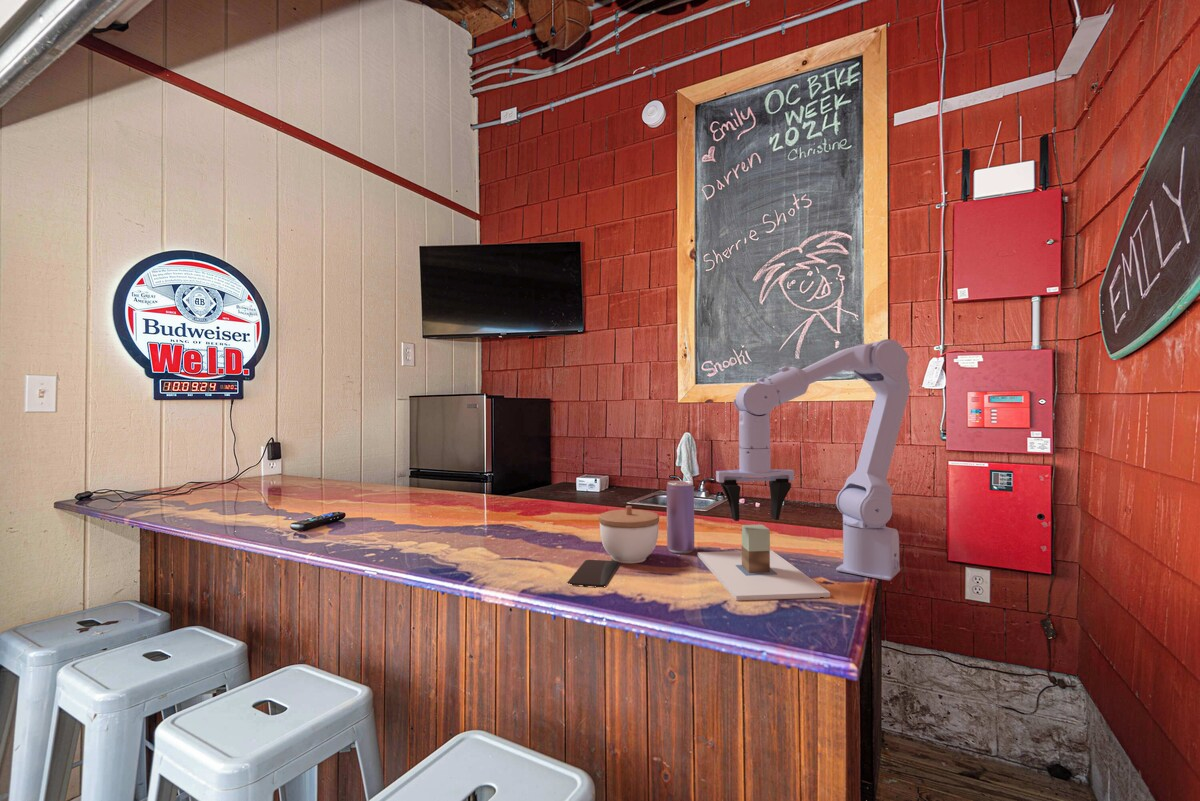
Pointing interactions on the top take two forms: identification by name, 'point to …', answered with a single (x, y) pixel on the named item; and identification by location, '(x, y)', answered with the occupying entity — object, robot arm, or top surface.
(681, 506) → the beverage can
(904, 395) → the robot arm
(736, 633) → the top surface
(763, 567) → the walnut block
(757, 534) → the sage block
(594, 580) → the smartphone
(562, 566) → the top surface
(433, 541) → the top surface
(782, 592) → the white flat panel
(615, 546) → the lidded bowl
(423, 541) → the top surface
